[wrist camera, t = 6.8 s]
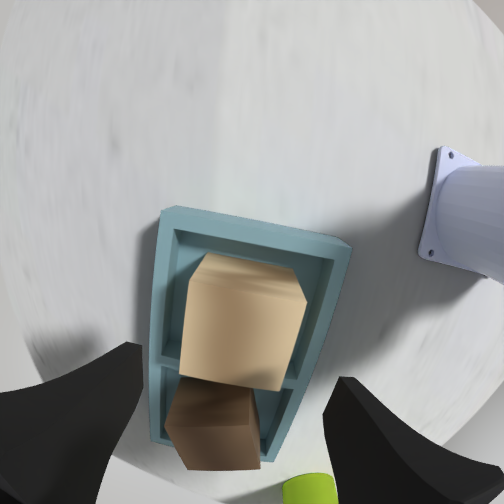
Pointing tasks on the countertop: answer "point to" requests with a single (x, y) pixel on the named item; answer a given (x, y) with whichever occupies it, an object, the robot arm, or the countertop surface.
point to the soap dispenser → (310, 489)
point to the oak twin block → (241, 322)
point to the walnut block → (214, 425)
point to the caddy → (255, 249)
